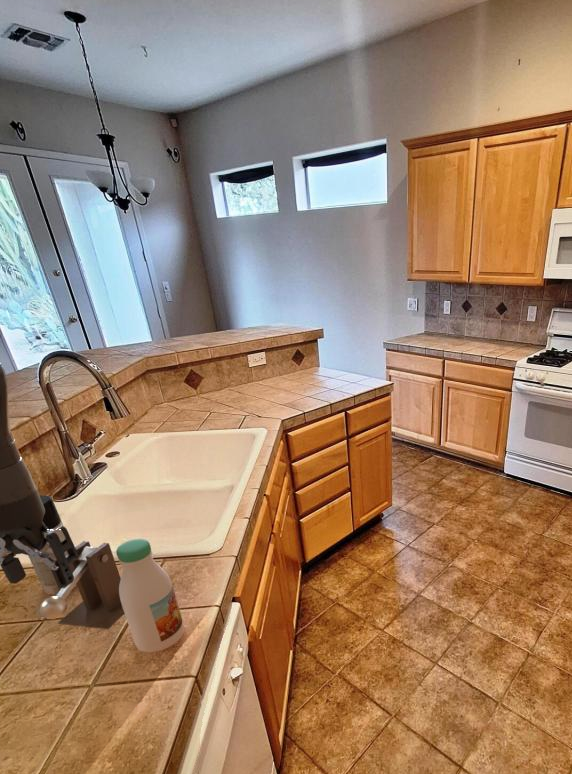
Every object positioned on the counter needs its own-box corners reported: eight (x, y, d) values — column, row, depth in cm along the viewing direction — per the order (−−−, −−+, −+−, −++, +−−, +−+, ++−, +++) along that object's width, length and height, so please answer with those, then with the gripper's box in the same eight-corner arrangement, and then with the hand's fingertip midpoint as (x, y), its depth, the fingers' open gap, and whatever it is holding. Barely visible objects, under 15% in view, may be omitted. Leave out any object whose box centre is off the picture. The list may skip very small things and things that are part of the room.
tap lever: (62, 623, 71) (48, 613, 68) (42, 621, 71) (28, 611, 68) (109, 556, 80) (98, 545, 77) (91, 555, 80) (80, 544, 77)
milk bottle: (146, 664, 71) (113, 566, 62) (130, 640, 76) (96, 546, 67) (193, 638, 76) (168, 545, 67) (175, 617, 81) (149, 527, 72)
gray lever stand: (110, 633, 77) (86, 571, 71) (59, 627, 78) (32, 566, 72) (152, 590, 88) (135, 533, 82) (107, 585, 89) (87, 528, 83)
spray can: (93, 579, 90) (61, 495, 82) (65, 600, 84) (28, 513, 76) (65, 575, 91) (31, 492, 82) (36, 596, 85) (-4, 509, 76)
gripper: (68, 484, 64) (100, 572, 71) (-16, 478, 65) (23, 564, 73) (23, 508, 57) (63, 602, 64) (-70, 501, 59) (-21, 594, 66)
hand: (42, 582), depth 69 cm, fingers open, 8 cm apart
